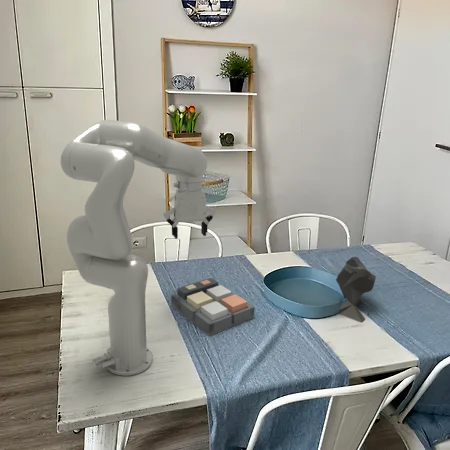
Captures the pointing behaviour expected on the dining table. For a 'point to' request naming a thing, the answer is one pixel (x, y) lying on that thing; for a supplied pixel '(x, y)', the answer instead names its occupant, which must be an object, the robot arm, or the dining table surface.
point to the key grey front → (214, 311)
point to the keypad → (195, 315)
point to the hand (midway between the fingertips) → (189, 235)
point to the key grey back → (218, 293)
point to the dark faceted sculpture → (354, 287)
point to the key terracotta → (234, 303)
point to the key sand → (199, 300)
